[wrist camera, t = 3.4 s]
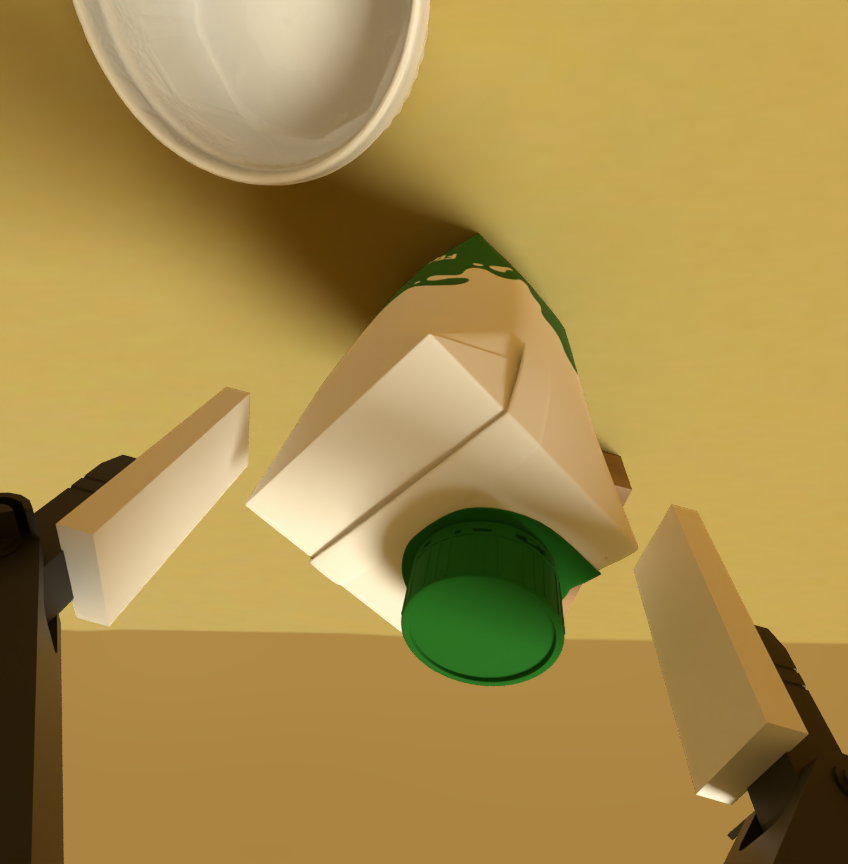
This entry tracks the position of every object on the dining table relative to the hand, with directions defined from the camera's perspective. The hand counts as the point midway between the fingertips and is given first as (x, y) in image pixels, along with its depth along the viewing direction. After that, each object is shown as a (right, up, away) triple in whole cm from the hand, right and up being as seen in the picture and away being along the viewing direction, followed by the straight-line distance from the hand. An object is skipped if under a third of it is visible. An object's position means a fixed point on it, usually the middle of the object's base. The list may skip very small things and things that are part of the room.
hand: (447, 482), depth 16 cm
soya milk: (+2, +8, +13) cm, 16 cm away
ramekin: (-6, +21, +8) cm, 23 cm away
